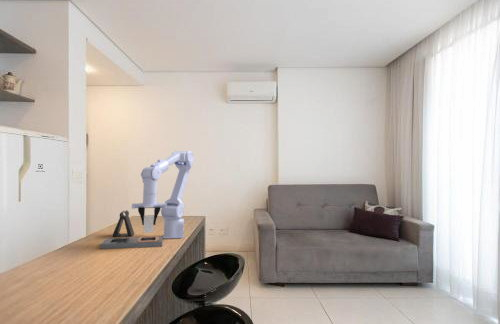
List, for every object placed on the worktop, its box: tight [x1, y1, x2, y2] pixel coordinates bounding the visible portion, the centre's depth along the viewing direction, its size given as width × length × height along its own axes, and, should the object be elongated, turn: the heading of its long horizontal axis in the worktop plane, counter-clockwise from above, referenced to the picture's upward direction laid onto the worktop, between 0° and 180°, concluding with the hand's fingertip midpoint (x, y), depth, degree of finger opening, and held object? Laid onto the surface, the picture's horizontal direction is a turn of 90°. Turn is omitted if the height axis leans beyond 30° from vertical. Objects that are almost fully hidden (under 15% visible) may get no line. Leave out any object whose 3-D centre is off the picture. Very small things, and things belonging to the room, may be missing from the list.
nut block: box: [143, 214, 155, 234], centre depth 126 cm, size 4×4×7 cm
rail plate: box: [100, 236, 164, 250], centre depth 124 cm, size 24×10×2 cm, turn 106°
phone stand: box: [111, 210, 135, 238], centre depth 142 cm, size 9×6×12 cm, turn 100°
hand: (148, 224), depth 126 cm, fingers closed on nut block, 4 cm apart
